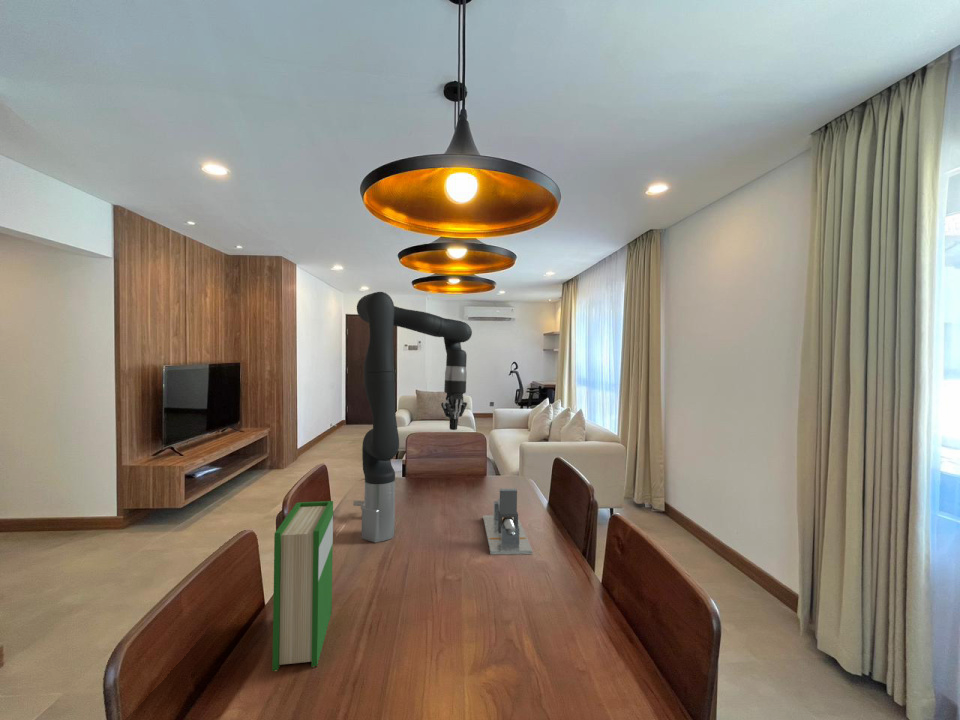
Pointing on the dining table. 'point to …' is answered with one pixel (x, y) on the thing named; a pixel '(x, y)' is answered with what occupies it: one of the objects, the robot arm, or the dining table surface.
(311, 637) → the hardback book
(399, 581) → the dining table surface
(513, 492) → the grey tall slab
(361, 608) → the dining table surface
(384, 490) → the robot arm
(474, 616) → the dining table surface
